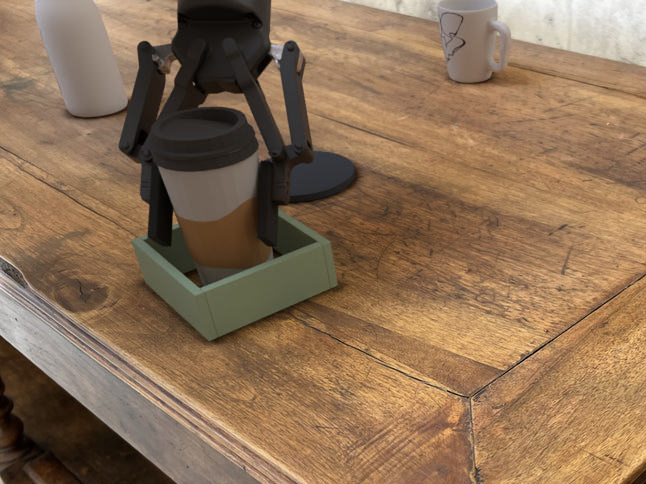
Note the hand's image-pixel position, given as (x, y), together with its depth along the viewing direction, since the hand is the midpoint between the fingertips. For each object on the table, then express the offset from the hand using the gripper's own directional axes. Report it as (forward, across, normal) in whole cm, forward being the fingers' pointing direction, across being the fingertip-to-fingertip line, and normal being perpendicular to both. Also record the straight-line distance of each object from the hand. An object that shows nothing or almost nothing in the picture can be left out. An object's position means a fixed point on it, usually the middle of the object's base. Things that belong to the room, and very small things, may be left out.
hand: (213, 241), depth 66 cm
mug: (-38, -18, -47) cm, 63 cm away
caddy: (+2, 0, -7) cm, 7 cm away
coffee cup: (+2, 0, -7) cm, 7 cm away
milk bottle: (-30, +33, -39) cm, 59 cm away
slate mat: (-14, 0, -23) cm, 27 cm away
